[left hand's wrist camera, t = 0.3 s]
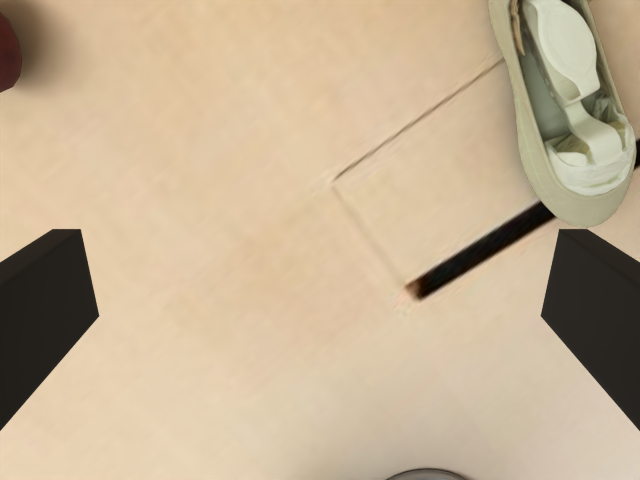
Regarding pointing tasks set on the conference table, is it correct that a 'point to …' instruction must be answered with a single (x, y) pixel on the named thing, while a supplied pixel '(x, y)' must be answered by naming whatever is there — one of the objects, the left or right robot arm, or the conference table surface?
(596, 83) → the ballet flat
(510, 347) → the conference table surface
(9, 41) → the dark maroon ball
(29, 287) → the left robot arm
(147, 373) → the conference table surface
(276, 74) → the conference table surface
